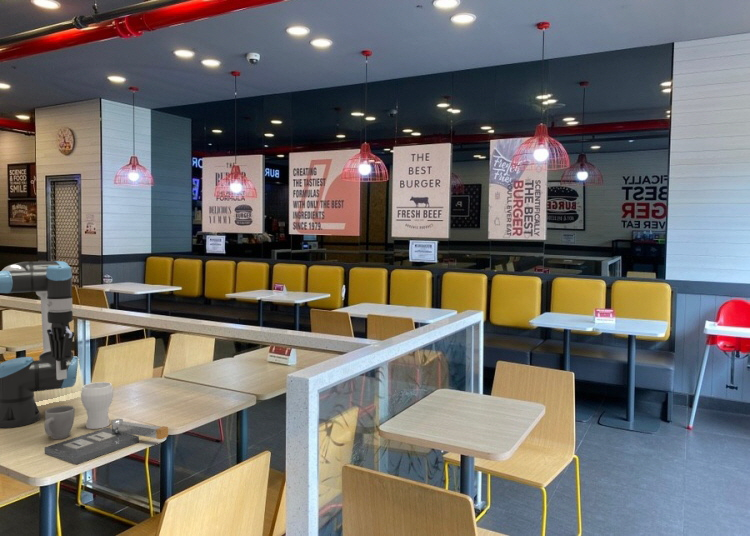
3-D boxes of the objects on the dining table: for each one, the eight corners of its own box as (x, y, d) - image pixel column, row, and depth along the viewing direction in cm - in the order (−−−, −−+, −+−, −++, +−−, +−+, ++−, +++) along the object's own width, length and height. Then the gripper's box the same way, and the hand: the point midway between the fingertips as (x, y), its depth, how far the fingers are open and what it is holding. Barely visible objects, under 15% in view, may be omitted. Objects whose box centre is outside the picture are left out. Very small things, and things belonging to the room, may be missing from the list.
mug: (56, 431, 201) (55, 405, 200) (80, 432, 200) (79, 405, 200) (33, 444, 189) (32, 415, 188) (58, 445, 188) (58, 416, 188)
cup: (101, 431, 201) (100, 390, 200) (75, 429, 203) (74, 388, 203) (120, 422, 212) (119, 382, 211) (95, 420, 214) (94, 380, 213)
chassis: (44, 453, 181) (44, 446, 181) (107, 433, 200) (107, 426, 200) (76, 464, 172) (76, 456, 172) (138, 442, 191) (138, 435, 191)
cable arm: (109, 431, 194) (109, 421, 194) (117, 428, 198) (117, 418, 197) (160, 439, 187) (160, 429, 187) (168, 436, 190) (168, 425, 190)
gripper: (38, 310, 194) (40, 378, 195) (59, 313, 187) (61, 383, 188) (60, 308, 200) (62, 373, 201) (81, 310, 193) (83, 379, 194)
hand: (61, 378), depth 195 cm, fingers closed
